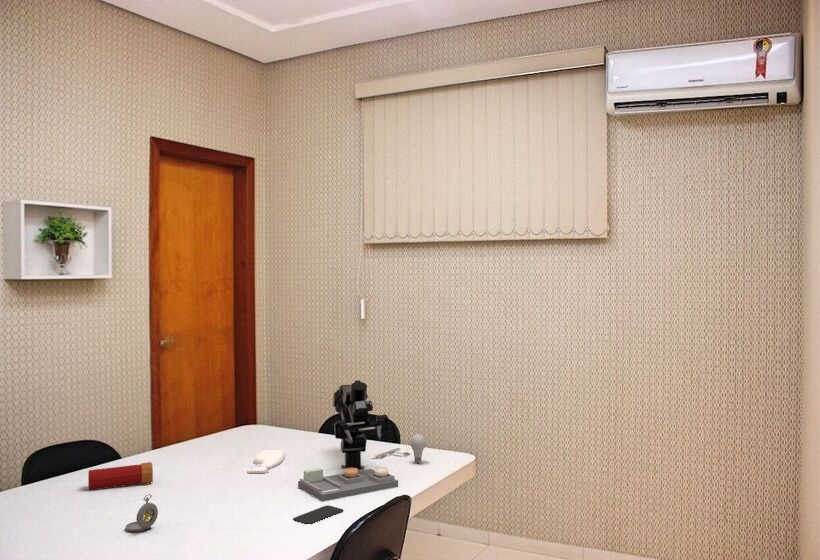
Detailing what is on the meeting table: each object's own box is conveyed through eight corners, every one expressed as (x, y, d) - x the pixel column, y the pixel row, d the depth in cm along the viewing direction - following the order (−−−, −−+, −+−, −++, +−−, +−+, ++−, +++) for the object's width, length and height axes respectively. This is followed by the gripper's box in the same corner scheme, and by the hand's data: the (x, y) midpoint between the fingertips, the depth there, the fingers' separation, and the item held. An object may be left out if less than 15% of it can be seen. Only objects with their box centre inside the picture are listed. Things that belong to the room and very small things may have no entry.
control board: (298, 487, 226) (298, 476, 226) (370, 474, 242) (370, 464, 242) (322, 501, 211) (322, 490, 211) (398, 486, 227) (398, 476, 227)
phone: (290, 518, 194) (327, 504, 206) (290, 521, 194) (327, 507, 206) (309, 524, 190) (345, 509, 202) (309, 527, 190) (345, 512, 202)
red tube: (153, 485, 228) (153, 464, 228) (87, 492, 220) (88, 470, 220) (152, 480, 235) (152, 460, 235) (88, 486, 227) (88, 465, 227)
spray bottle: (287, 457, 267) (272, 476, 242) (259, 457, 267) (242, 475, 242) (287, 450, 267) (272, 467, 242) (259, 449, 267) (242, 467, 242)
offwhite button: (372, 474, 229) (372, 468, 229) (383, 472, 231) (383, 466, 231) (379, 477, 225) (379, 471, 225) (390, 475, 227) (390, 469, 227)
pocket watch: (130, 524, 190) (130, 489, 190) (160, 523, 191) (160, 488, 191) (120, 535, 182) (120, 498, 182) (152, 534, 183) (152, 497, 183)
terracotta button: (341, 474, 228) (341, 468, 228) (353, 472, 230) (353, 466, 230) (348, 478, 224) (348, 472, 224) (360, 475, 226) (360, 469, 226)
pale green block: (303, 481, 225) (303, 470, 225) (319, 478, 228) (319, 467, 229) (306, 483, 223) (306, 472, 223) (323, 480, 227) (323, 469, 227)
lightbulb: (424, 465, 254) (424, 436, 254) (408, 464, 255) (408, 435, 255) (427, 461, 260) (427, 433, 260) (411, 460, 261) (411, 432, 261)
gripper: (331, 398, 234) (337, 424, 221) (383, 392, 238) (393, 417, 225) (332, 424, 239) (338, 452, 225) (384, 418, 243) (393, 444, 229)
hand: (365, 441), depth 226 cm, fingers open, 9 cm apart
